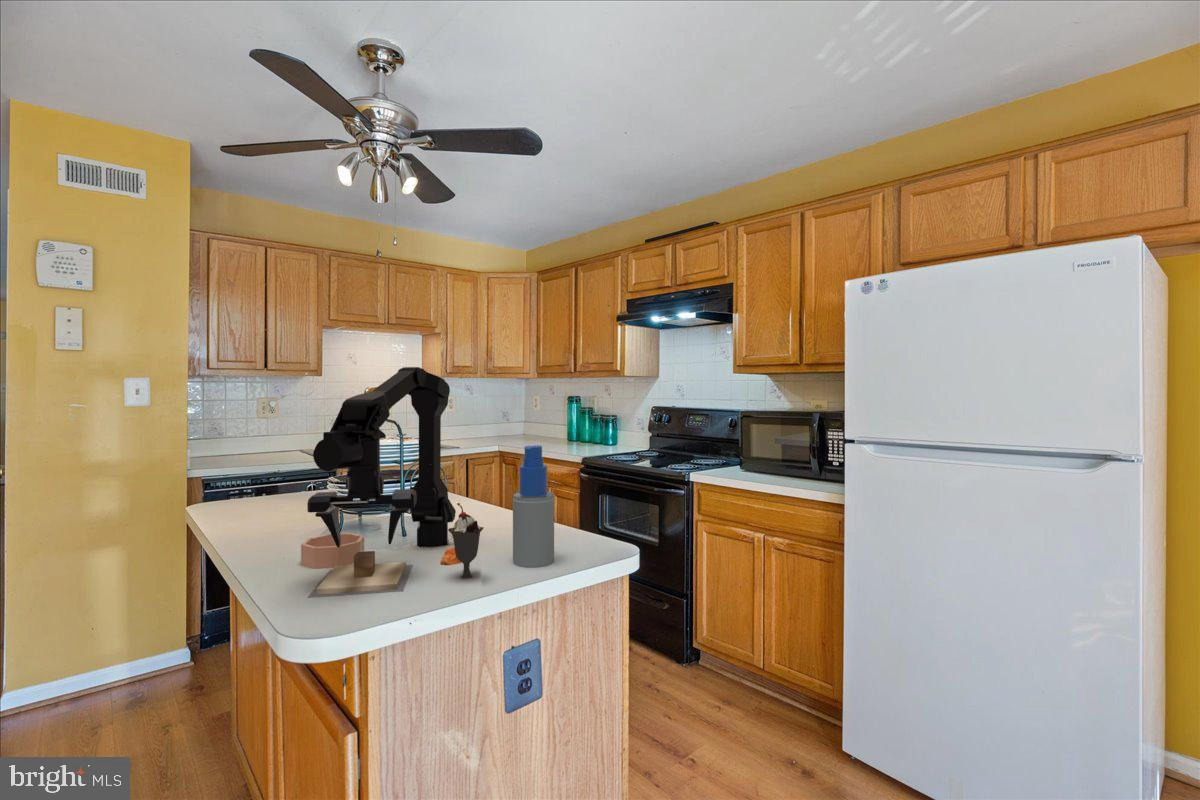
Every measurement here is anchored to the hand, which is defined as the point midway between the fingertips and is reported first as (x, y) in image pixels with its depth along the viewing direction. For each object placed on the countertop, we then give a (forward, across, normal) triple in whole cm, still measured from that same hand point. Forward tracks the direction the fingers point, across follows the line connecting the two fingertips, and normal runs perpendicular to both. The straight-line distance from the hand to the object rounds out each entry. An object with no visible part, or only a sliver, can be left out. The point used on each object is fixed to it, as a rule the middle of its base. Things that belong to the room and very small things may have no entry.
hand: (364, 545), depth 110 cm
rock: (+8, -16, -10) cm, 20 cm away
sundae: (+8, -19, +2) cm, 20 cm away
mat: (+7, 0, 0) cm, 7 cm away
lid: (+7, 0, 0) cm, 7 cm away
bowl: (+7, +9, -15) cm, 19 cm away
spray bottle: (+8, -33, -8) cm, 35 cm away
